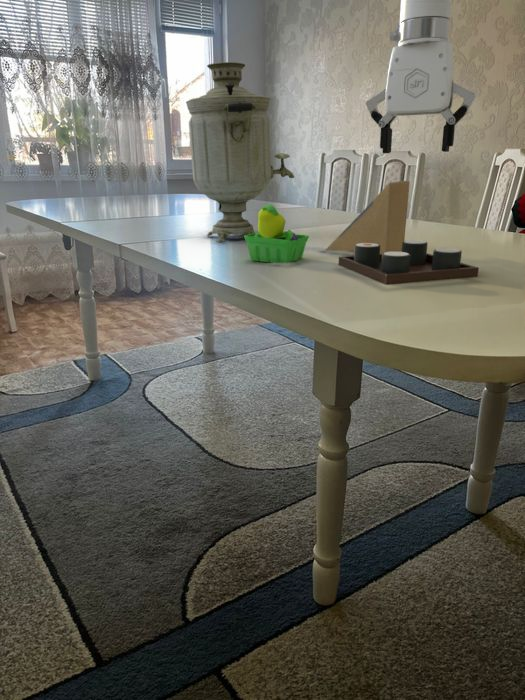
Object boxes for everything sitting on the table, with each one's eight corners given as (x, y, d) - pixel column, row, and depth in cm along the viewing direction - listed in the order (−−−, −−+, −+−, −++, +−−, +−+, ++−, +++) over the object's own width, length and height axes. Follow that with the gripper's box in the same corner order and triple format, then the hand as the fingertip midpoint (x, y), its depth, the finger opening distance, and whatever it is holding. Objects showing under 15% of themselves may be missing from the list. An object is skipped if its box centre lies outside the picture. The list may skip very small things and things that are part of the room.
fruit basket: (310, 260, 110) (311, 203, 106) (288, 268, 103) (289, 206, 99) (262, 255, 116) (262, 200, 112) (239, 262, 109) (237, 204, 105)
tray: (477, 279, 92) (479, 267, 91) (385, 288, 87) (386, 275, 86) (418, 261, 108) (419, 251, 107) (338, 267, 103) (338, 256, 102)
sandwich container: (344, 245, 127) (347, 178, 122) (404, 252, 117) (410, 180, 112) (323, 250, 121) (325, 180, 116) (384, 258, 111) (390, 182, 106)
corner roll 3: (464, 275, 93) (467, 251, 91) (441, 277, 91) (444, 252, 90) (448, 270, 97) (450, 247, 96) (426, 271, 96) (428, 248, 94)
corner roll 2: (430, 264, 102) (432, 242, 100) (409, 266, 100) (411, 244, 99) (416, 260, 106) (418, 239, 104) (396, 262, 105) (397, 240, 103)
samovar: (296, 247, 125) (299, 52, 112) (183, 247, 126) (173, 54, 112) (293, 230, 153) (295, 73, 140) (200, 230, 154) (193, 74, 140)
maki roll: (383, 268, 99) (385, 245, 97) (360, 270, 97) (362, 246, 96) (371, 263, 103) (372, 241, 102) (349, 265, 102) (350, 243, 100)
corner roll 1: (414, 279, 90) (416, 254, 89) (389, 281, 89) (391, 256, 87) (399, 274, 94) (401, 250, 93) (375, 276, 93) (377, 252, 91)
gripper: (362, 38, 85) (358, 153, 91) (479, 24, 78) (467, 150, 84) (375, 46, 92) (370, 153, 97) (484, 34, 84) (472, 151, 90)
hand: (415, 152), depth 90 cm, fingers open, 9 cm apart
